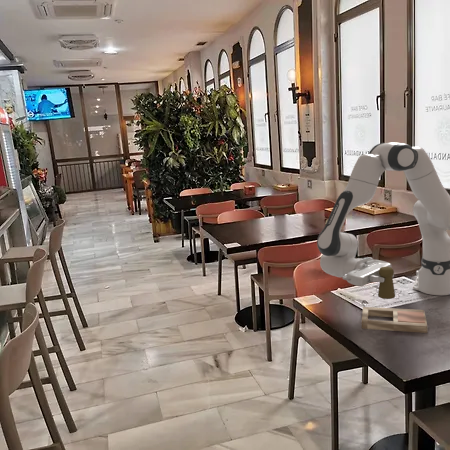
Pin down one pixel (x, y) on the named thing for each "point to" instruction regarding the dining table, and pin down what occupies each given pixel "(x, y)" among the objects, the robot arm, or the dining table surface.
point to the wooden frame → (395, 319)
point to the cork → (386, 283)
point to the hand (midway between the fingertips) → (388, 277)
